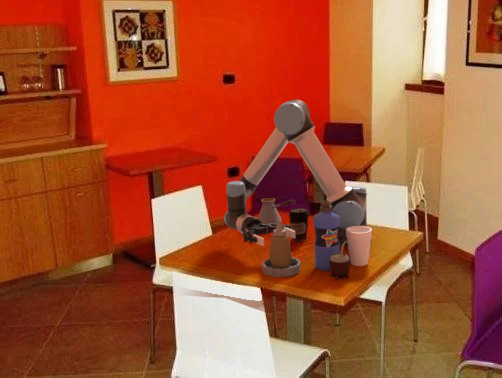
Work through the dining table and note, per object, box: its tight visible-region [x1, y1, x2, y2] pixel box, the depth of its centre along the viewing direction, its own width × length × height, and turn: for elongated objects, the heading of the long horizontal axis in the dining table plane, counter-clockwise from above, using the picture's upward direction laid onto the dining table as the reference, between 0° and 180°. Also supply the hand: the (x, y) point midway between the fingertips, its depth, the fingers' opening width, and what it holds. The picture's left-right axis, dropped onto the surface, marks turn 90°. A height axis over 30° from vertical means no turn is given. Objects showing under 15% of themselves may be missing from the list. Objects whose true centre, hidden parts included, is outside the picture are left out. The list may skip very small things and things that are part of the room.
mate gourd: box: [329, 240, 351, 281], centre depth 209 cm, size 8×8×15 cm
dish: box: [261, 256, 302, 278], centre depth 220 cm, size 14×14×3 cm
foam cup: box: [346, 226, 373, 267], centre depth 222 cm, size 10×9×13 cm
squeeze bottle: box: [269, 219, 293, 269], centre depth 218 cm, size 8×8×18 cm
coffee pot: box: [257, 197, 296, 230], centre depth 270 cm, size 21×12×15 cm, turn 45°
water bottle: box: [312, 199, 341, 272], centre depth 219 cm, size 9×9×25 cm
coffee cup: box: [288, 208, 310, 243], centre depth 253 cm, size 9×8×13 cm
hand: (279, 238), depth 218 cm, fingers open, 13 cm apart
